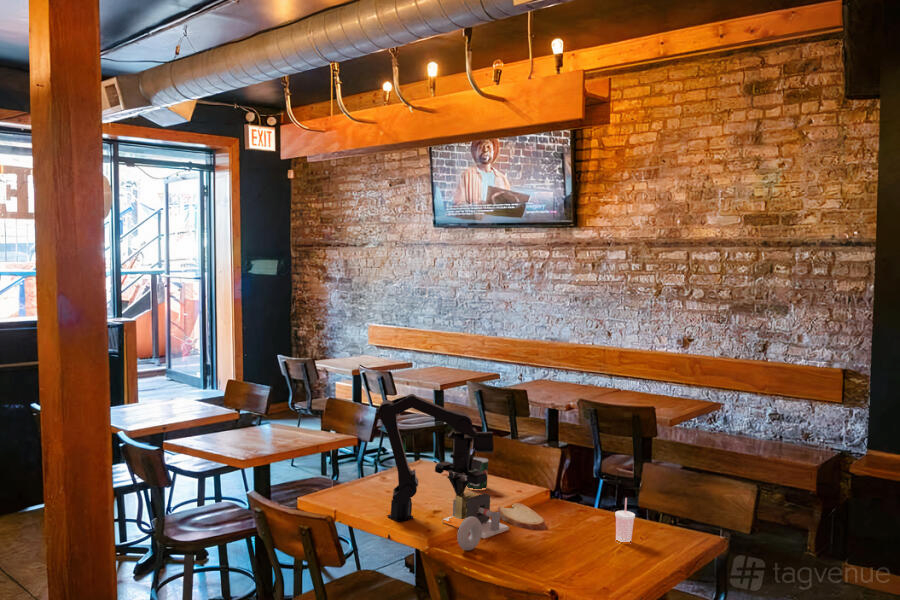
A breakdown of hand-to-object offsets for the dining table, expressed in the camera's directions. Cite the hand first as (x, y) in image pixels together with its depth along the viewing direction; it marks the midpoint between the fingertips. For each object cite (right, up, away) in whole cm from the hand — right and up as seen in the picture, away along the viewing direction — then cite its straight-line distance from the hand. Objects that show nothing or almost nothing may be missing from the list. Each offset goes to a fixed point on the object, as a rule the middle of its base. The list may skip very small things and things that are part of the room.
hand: (459, 498), depth 251 cm
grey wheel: (+2, -9, -25) cm, 27 cm away
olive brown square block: (+2, -5, -2) cm, 6 cm away
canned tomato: (+7, -6, +37) cm, 38 cm away
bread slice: (+21, -9, +5) cm, 23 cm away
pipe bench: (+5, -8, -5) cm, 11 cm away
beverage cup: (+51, -11, -12) cm, 54 cm away
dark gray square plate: (+6, -6, -6) cm, 10 cm away
